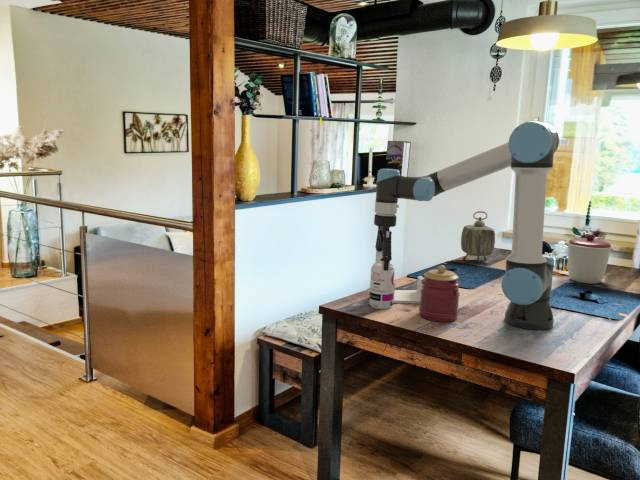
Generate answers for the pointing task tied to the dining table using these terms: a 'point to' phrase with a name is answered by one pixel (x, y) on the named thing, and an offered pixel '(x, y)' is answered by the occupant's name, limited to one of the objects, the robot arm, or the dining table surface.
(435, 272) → the canister
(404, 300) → the can holder
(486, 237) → the tabletop clock
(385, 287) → the supplement can
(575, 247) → the canister
